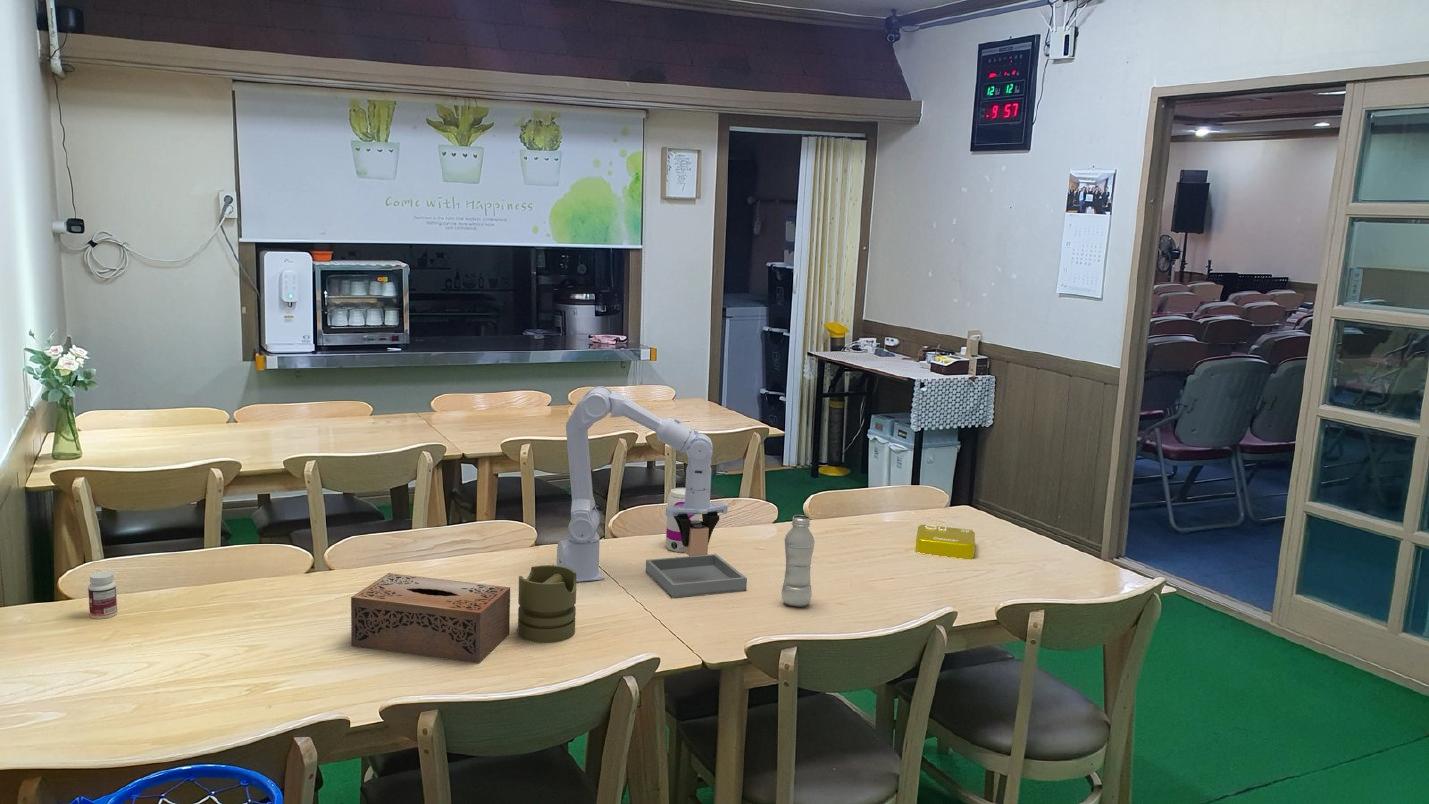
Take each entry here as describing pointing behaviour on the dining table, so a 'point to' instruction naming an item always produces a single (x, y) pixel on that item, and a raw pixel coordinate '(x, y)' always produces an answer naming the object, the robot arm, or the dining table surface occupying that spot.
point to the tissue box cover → (430, 617)
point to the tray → (695, 575)
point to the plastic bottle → (798, 563)
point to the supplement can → (672, 527)
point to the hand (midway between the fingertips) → (695, 544)
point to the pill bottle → (102, 595)
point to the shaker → (697, 539)
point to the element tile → (945, 541)
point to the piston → (547, 604)
